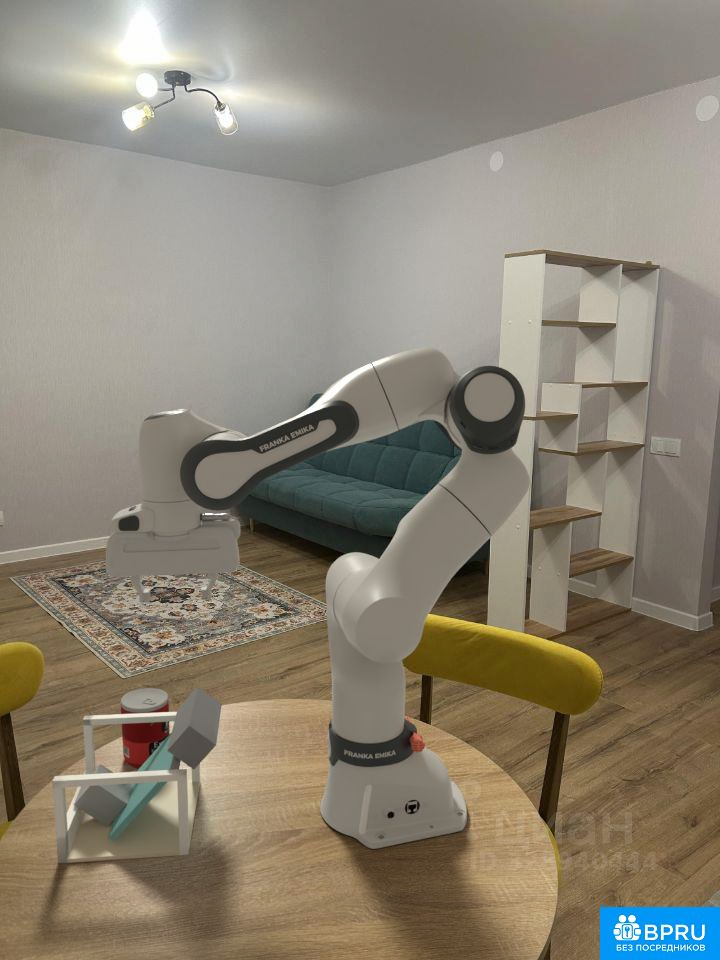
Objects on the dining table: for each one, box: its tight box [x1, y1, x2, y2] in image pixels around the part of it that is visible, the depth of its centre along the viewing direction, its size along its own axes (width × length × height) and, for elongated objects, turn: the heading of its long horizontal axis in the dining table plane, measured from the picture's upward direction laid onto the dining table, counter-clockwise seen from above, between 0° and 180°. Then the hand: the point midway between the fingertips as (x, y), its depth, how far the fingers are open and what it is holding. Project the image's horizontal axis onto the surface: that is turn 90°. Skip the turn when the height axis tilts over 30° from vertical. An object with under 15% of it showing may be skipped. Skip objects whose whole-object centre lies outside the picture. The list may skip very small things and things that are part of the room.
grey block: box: [74, 763, 133, 827], centre depth 109 cm, size 5×5×6 cm
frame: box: [51, 711, 201, 864], centre depth 109 cm, size 18×18×12 cm
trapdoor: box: [108, 686, 222, 842], centre depth 109 cm, size 20×14×5 cm
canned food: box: [120, 687, 171, 769], centre depth 126 cm, size 8×8×11 cm
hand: (176, 600), depth 116 cm, fingers open, 8 cm apart
